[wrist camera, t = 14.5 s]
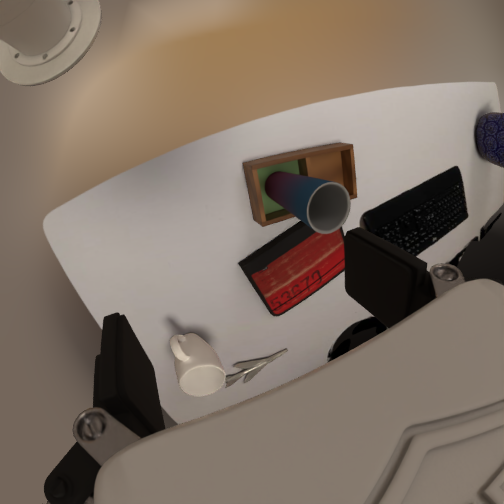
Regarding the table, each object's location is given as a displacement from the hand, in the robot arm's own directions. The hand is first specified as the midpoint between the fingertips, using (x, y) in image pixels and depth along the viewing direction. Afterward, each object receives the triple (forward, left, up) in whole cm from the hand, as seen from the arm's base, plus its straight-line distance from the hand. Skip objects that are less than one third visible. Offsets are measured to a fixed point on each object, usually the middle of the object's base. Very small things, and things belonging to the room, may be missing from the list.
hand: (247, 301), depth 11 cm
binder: (+23, +20, -36) cm, 48 cm away
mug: (+30, -6, -36) cm, 48 cm away
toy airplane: (+46, +4, -36) cm, 59 cm away
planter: (+4, +97, -36) cm, 104 cm away
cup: (+7, +17, -35) cm, 40 cm away
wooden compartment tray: (+7, +22, -36) cm, 43 cm away
